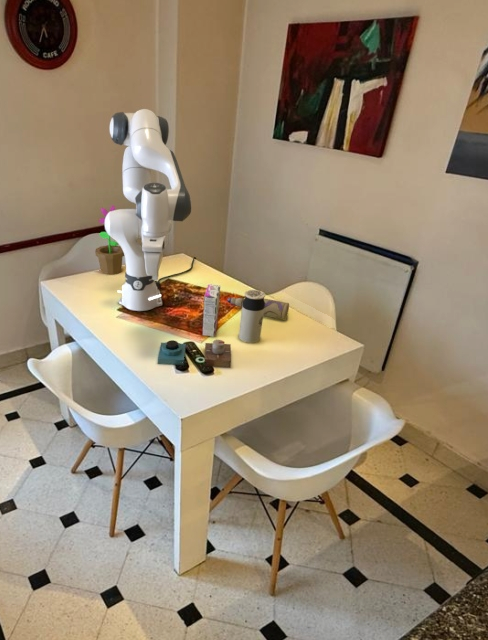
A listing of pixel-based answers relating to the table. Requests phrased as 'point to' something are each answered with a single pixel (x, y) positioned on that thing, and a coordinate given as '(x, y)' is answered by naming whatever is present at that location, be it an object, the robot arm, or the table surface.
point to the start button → (172, 345)
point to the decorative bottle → (267, 307)
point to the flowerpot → (109, 252)
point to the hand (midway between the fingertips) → (155, 278)
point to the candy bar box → (211, 310)
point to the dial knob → (218, 346)
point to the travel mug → (252, 316)
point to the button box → (171, 354)
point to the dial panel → (218, 356)
